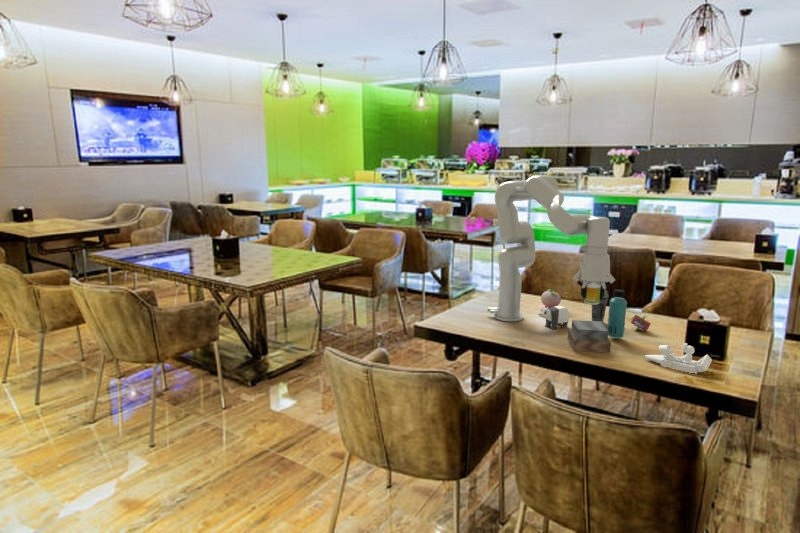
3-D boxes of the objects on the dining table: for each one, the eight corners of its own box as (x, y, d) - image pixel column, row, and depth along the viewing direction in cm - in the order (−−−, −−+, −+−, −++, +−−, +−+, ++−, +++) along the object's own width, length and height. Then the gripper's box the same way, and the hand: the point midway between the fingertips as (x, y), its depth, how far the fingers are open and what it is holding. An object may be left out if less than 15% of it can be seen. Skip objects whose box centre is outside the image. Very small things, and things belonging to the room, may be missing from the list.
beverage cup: (603, 319, 230) (607, 275, 226) (608, 324, 223) (612, 279, 219) (586, 318, 231) (590, 275, 227) (590, 324, 224) (594, 278, 220)
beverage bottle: (623, 337, 209) (628, 288, 204) (624, 342, 203) (629, 292, 198) (605, 335, 211) (610, 287, 206) (606, 340, 205) (610, 291, 200)
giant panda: (561, 323, 225) (562, 301, 223) (570, 326, 221) (572, 305, 218) (533, 327, 219) (535, 305, 217) (542, 331, 215) (544, 309, 212)
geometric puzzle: (656, 326, 215) (646, 309, 217) (651, 330, 210) (640, 312, 212) (641, 333, 220) (631, 316, 222) (635, 337, 215) (624, 319, 217)
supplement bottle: (597, 305, 192) (599, 280, 190) (582, 303, 195) (584, 278, 193) (600, 302, 197) (602, 277, 195) (585, 300, 200) (587, 275, 197)
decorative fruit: (536, 307, 248) (537, 286, 246) (551, 305, 251) (553, 285, 249) (547, 312, 240) (549, 291, 237) (563, 311, 242) (564, 290, 240)
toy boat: (648, 355, 191) (651, 332, 189) (711, 369, 178) (714, 344, 177) (640, 364, 182) (642, 340, 180) (705, 380, 170) (709, 354, 168)
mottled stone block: (573, 350, 194) (575, 330, 192) (567, 338, 207) (569, 319, 205) (609, 352, 192) (612, 331, 191) (601, 340, 205) (603, 320, 203)
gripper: (573, 251, 189) (570, 299, 193) (623, 253, 187) (618, 302, 191) (570, 248, 196) (566, 294, 200) (617, 249, 194) (613, 296, 198)
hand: (592, 297), depth 196 cm, fingers closed on supplement bottle, 5 cm apart
